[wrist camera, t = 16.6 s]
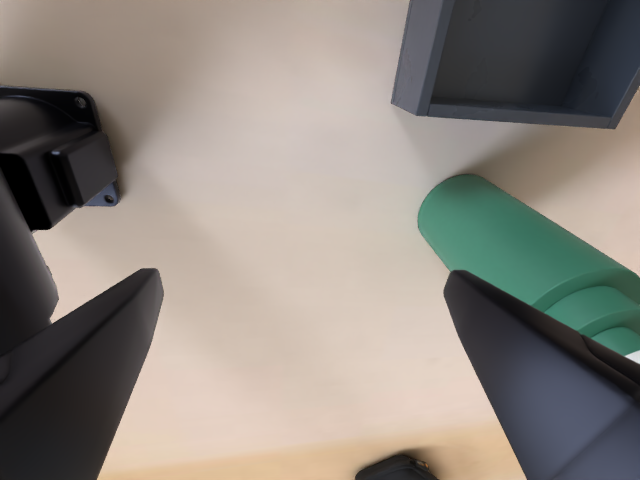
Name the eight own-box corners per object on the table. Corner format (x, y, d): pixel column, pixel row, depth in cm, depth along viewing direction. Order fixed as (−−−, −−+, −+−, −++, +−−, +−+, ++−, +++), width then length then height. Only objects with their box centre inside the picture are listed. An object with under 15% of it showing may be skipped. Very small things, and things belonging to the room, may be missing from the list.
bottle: (401, 225, 23) (545, 430, 11) (458, 158, 21) (724, 320, 9) (454, 256, 26) (624, 455, 13) (511, 198, 23) (783, 373, 11)
